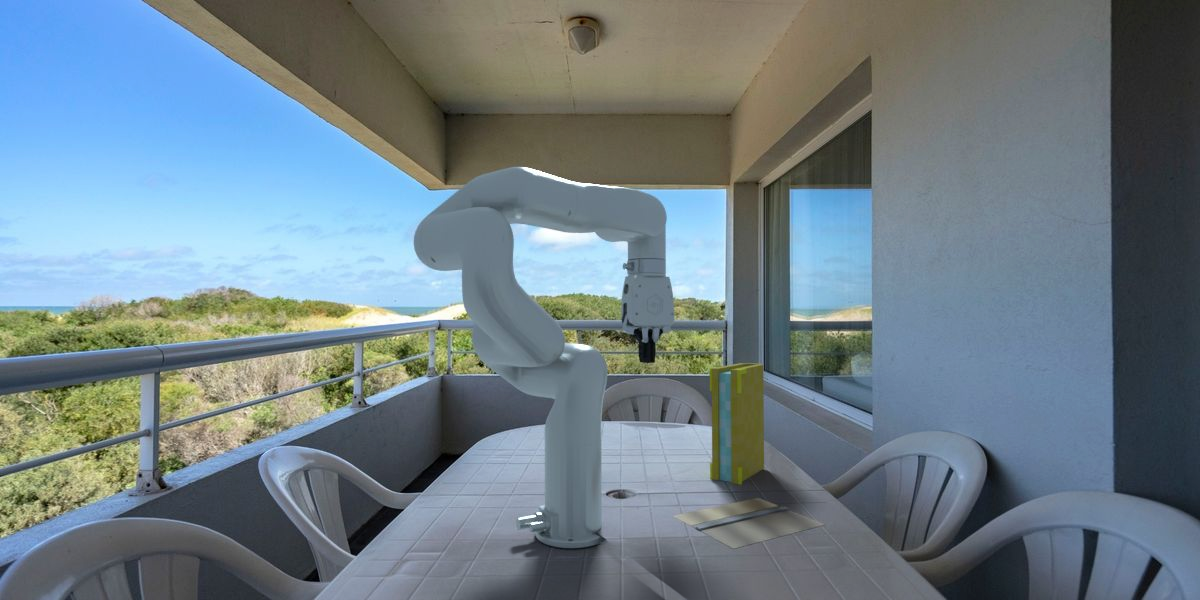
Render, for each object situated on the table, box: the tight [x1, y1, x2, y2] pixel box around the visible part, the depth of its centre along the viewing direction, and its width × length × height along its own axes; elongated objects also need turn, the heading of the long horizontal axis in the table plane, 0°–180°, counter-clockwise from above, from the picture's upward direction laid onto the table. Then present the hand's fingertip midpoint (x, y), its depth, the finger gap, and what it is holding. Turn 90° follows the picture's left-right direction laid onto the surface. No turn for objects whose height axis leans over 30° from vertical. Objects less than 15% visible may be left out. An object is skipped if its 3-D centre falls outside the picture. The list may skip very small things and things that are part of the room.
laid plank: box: [691, 505, 826, 550], centre depth 93 cm, size 20×10×2 cm, turn 118°
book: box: [709, 362, 765, 485], centre depth 124 cm, size 17×7×25 cm, turn 143°
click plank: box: [672, 497, 779, 527], centre depth 102 cm, size 20×10×2 cm, turn 118°
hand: (647, 362), depth 110 cm, fingers closed
